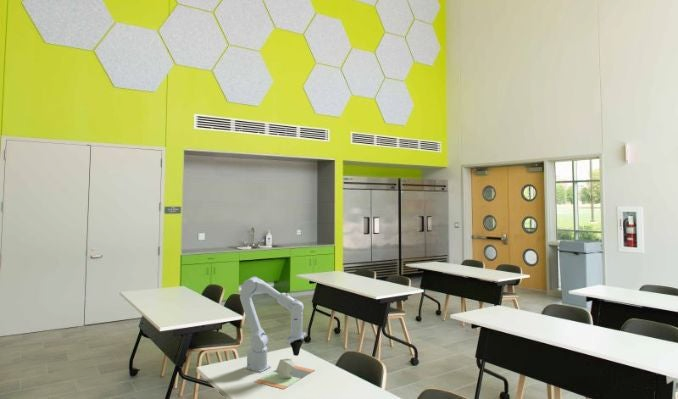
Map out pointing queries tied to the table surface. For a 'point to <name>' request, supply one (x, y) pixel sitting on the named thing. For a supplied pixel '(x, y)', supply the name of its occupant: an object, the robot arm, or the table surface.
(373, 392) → the table surface
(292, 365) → the die
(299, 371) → the mat
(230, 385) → the table surface
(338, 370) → the table surface
